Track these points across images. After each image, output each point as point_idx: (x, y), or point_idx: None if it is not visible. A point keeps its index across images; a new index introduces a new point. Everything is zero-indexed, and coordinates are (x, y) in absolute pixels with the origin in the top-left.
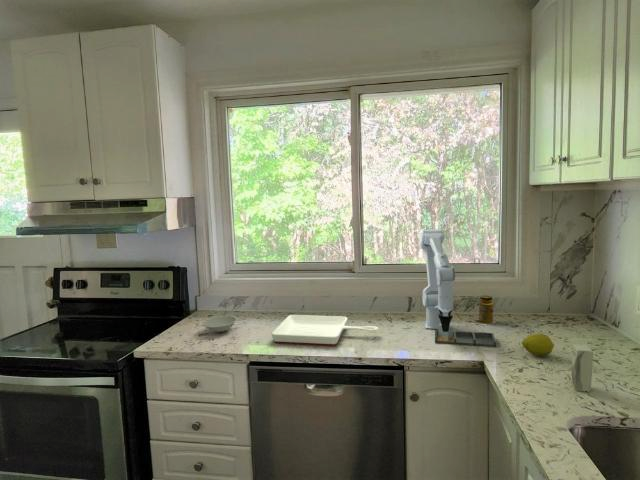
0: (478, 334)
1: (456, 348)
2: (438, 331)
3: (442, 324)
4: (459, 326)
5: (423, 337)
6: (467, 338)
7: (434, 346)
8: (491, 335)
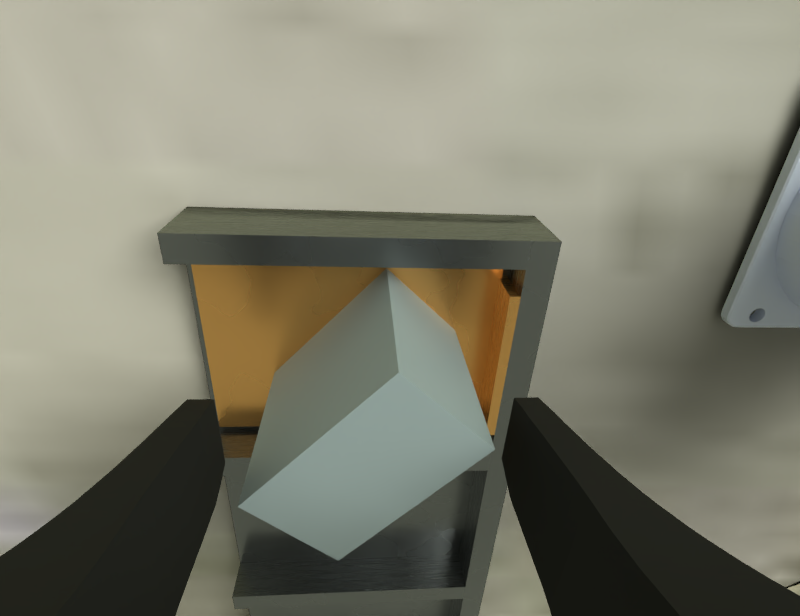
0: (455, 604)
1: (94, 428)
2: (387, 301)
3: (101, 510)
4: (793, 458)
5: (395, 22)
6: None
7: (34, 199)
8: None
